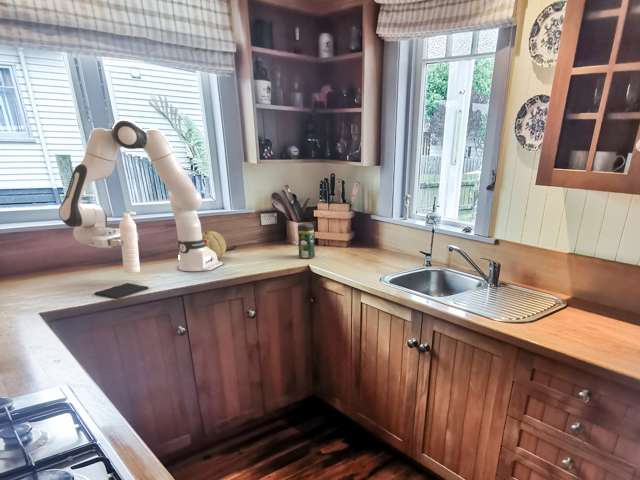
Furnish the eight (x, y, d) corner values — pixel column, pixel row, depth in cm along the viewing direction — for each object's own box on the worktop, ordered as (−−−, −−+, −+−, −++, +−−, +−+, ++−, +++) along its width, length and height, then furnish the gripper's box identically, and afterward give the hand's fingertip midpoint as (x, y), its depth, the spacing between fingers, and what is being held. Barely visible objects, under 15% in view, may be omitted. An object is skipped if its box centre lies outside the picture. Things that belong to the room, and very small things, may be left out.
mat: (127, 284, 203) (127, 283, 202) (148, 288, 199) (148, 286, 198) (95, 294, 189) (94, 292, 189) (116, 298, 185) (116, 296, 185)
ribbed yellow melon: (231, 256, 256) (228, 229, 250) (221, 262, 243) (218, 233, 237) (204, 255, 257) (201, 227, 251) (193, 261, 243) (190, 232, 237)
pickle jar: (303, 254, 266) (302, 221, 258) (316, 255, 264) (315, 222, 256) (296, 258, 258) (295, 223, 250) (309, 259, 256) (308, 225, 248)
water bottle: (134, 273, 202) (129, 214, 193) (120, 271, 203) (114, 212, 193) (146, 270, 210) (141, 212, 201) (132, 268, 211) (127, 211, 201)
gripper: (82, 234, 195) (106, 237, 191) (123, 227, 212) (146, 230, 208) (86, 249, 198) (110, 253, 193) (125, 241, 215) (148, 244, 210)
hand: (129, 241), depth 201 cm, fingers closed on water bottle, 6 cm apart
